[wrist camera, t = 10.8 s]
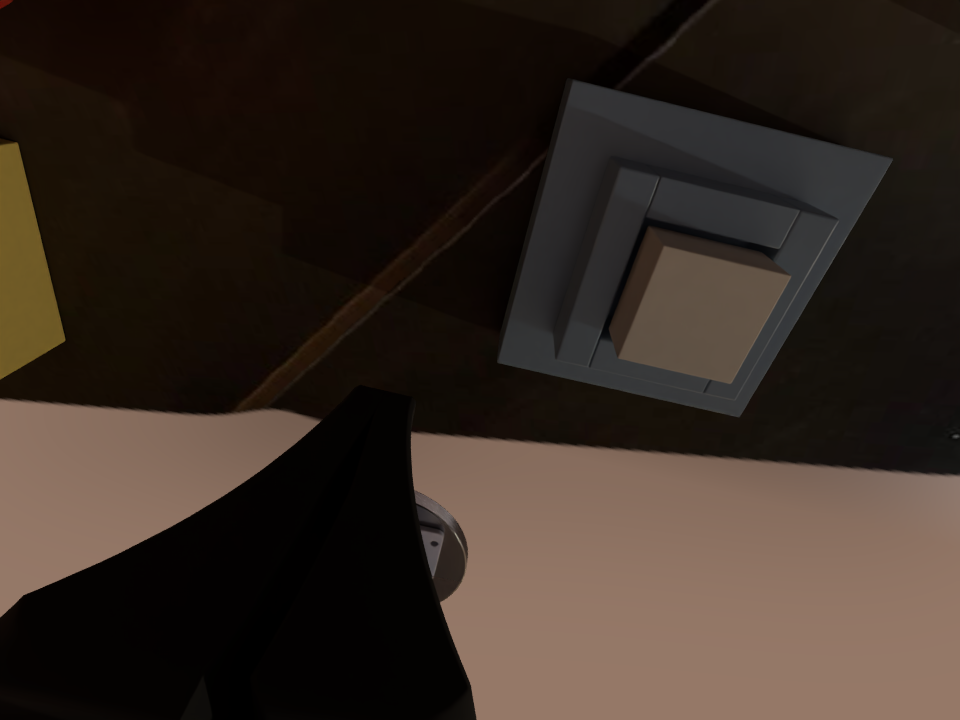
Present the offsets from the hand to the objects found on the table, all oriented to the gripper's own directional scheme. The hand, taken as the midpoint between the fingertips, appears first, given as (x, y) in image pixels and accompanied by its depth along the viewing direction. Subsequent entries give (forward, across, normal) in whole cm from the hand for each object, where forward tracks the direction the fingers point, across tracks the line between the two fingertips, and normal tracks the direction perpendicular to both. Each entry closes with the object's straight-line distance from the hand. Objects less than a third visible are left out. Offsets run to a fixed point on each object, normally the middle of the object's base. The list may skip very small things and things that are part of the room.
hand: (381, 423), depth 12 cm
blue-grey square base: (+11, -8, -2) cm, 13 cm away
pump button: (+7, -8, -2) cm, 10 cm away
